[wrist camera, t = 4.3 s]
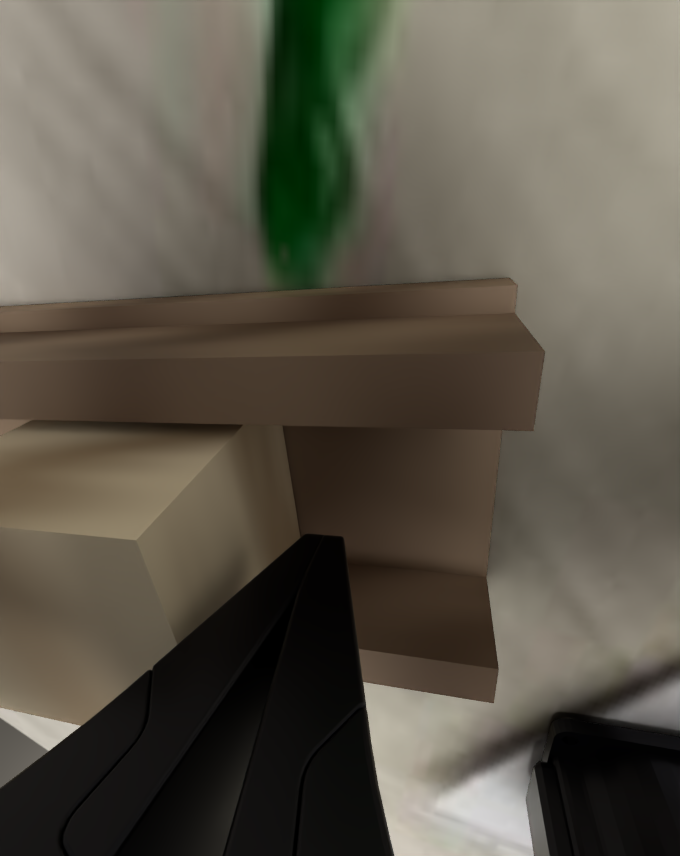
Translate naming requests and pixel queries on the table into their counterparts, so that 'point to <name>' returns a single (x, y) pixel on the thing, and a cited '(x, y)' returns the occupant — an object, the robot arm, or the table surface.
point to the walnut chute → (328, 430)
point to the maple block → (126, 548)
